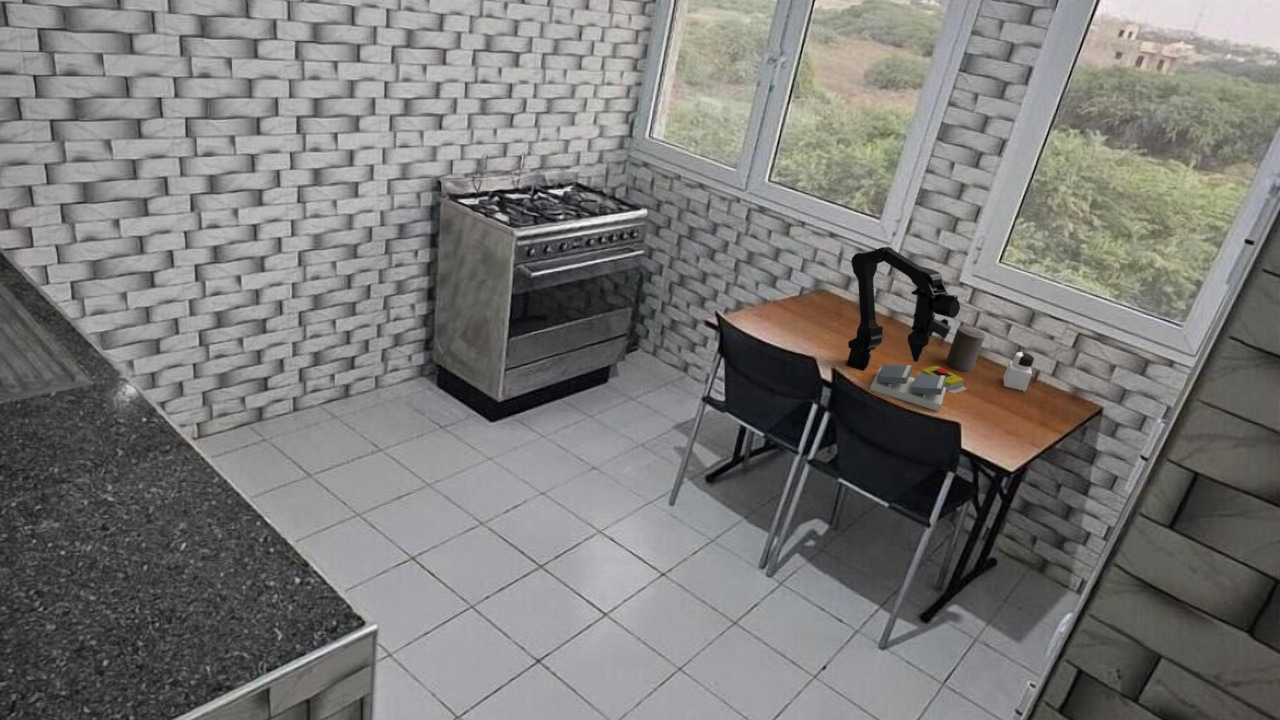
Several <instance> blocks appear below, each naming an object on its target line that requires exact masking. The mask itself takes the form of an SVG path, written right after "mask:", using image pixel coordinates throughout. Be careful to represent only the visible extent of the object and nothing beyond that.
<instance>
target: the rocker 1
mask: <svg viewBox="0 0 1280 720" xmlns="http://www.w3.org/2000/svg"><path fill="white" fill-rule="evenodd" d="M912 367H913V366H912V365H909V364H906V365H905V364H891V363H889V364H887V363H884V364H882V367H880V368H881V370H880V372H879V374H878V376H877V382H885V383H899V384H906V383H907V381H908V379H909V377H911V373H912V372H913V371H912V369H913V368H912Z"/></svg>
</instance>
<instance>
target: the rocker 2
mask: <svg viewBox="0 0 1280 720" xmlns="http://www.w3.org/2000/svg"><path fill="white" fill-rule="evenodd" d="M914 378H915V380H914V382H913V384H912V387H911V393H922V394H935V395H941V394H942V391H943V388H944V385H945V382H946V376H942V375H941V376H937V375H921V374H918V373H917V374H916V375H915V377H914Z"/></svg>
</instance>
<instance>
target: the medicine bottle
mask: <svg viewBox="0 0 1280 720" xmlns="http://www.w3.org/2000/svg"><path fill="white" fill-rule="evenodd" d="M1034 360H1035V358H1034V356H1033V355H1031V354H1030V353H1027V352H1024V351H1018V352H1016V353H1015V355H1014V358H1013V360H1012V361H1008V365H1007V367H1006V370H1005V373H1004V375H1003V380H1002V381H1003V386H1004V387H1007V388H1010V389H1014V390H1017V389H1018V390H1017V391H1021V390H1022V391H1021V392H1026V391H1027V388H1028V386H1029V384H1030V380H1031V378H1032V376H1033V372H1032V366H1033V363H1034Z"/></svg>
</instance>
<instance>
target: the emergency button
mask: <svg viewBox="0 0 1280 720" xmlns="http://www.w3.org/2000/svg"><path fill="white" fill-rule="evenodd" d="M917 374H921V375H937V376H941V375H942V376H946V382H945V385H944V387H945V388H946V391H945V392H949V393H951V394H957V393H960V392H964V391H966V390H968V388H967V387H965V386H963V384H964V379H963V377H960V376H958V375H956V374H954V373H952V372H951V371H948V370H946V369H945V368H942V367H940V366H938V365H934V366H930V367H927V368H924V369H922V371H921V372H919V373H917Z"/></svg>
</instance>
